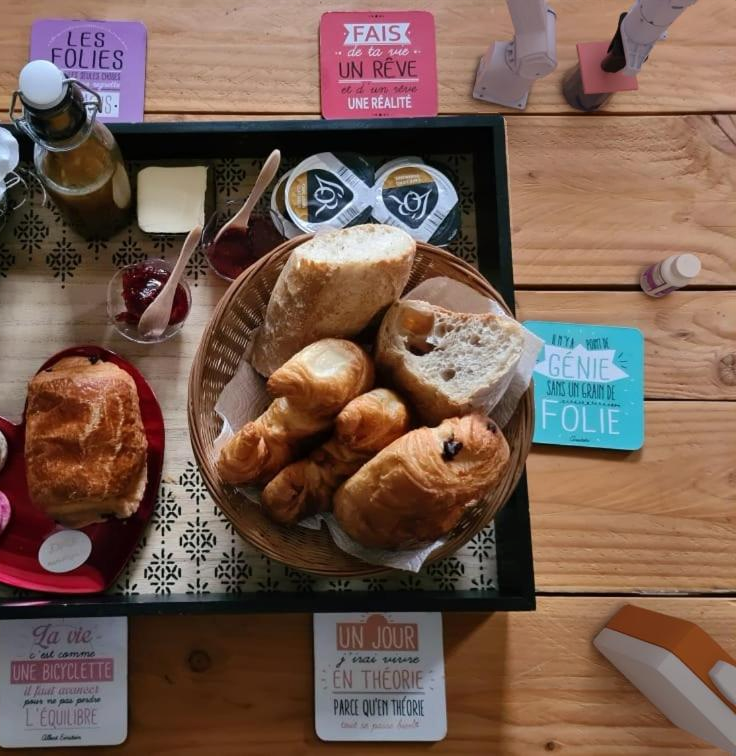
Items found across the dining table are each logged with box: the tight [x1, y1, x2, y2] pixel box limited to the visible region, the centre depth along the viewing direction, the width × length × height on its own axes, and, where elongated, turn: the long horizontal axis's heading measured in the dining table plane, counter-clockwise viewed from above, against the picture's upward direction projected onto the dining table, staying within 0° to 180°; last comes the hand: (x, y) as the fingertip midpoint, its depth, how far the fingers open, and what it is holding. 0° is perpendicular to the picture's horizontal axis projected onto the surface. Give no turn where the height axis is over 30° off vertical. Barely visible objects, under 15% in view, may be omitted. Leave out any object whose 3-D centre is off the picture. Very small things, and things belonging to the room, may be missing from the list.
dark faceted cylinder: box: [562, 60, 618, 112], centre depth 128 cm, size 8×8×6 cm
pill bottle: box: [639, 253, 702, 298], centre depth 121 cm, size 5×5×10 cm
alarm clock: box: [592, 603, 736, 756], centre depth 106 cm, size 18×9×21 cm, turn 45°
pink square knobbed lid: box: [575, 40, 639, 94], centre depth 122 cm, size 9×9×4 cm
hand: (611, 61), depth 122 cm, fingers closed on pink square knobbed lid, 2 cm apart
